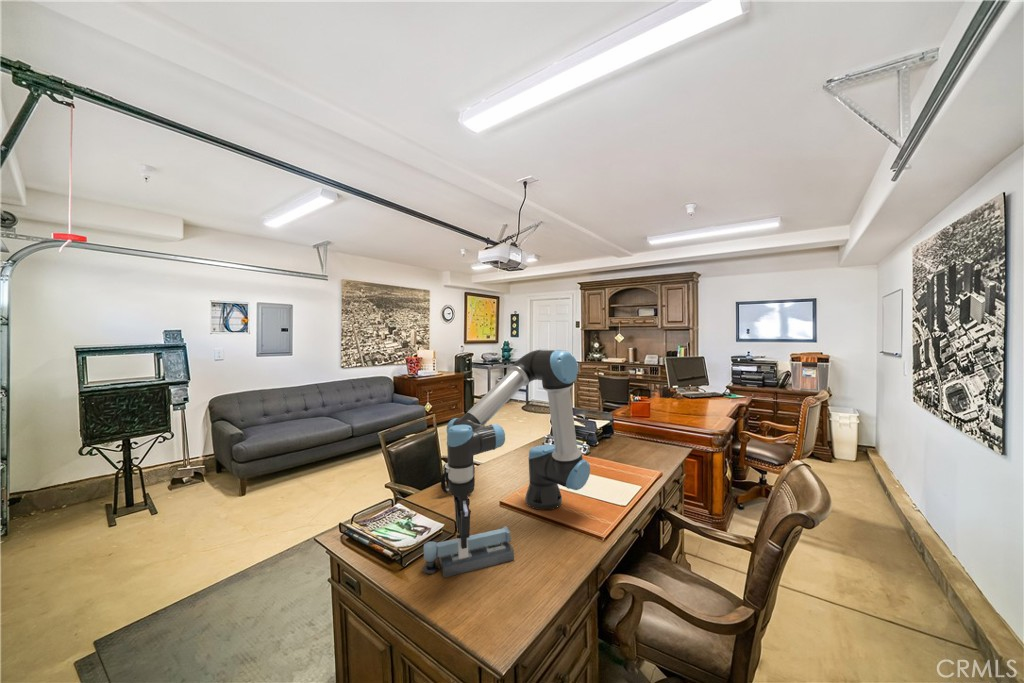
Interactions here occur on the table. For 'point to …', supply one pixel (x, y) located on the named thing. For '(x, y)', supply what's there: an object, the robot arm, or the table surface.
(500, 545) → the block
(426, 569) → the black short cylinder
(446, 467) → the black pot
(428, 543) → the hole punch handle
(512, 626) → the table surface
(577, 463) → the robot arm
